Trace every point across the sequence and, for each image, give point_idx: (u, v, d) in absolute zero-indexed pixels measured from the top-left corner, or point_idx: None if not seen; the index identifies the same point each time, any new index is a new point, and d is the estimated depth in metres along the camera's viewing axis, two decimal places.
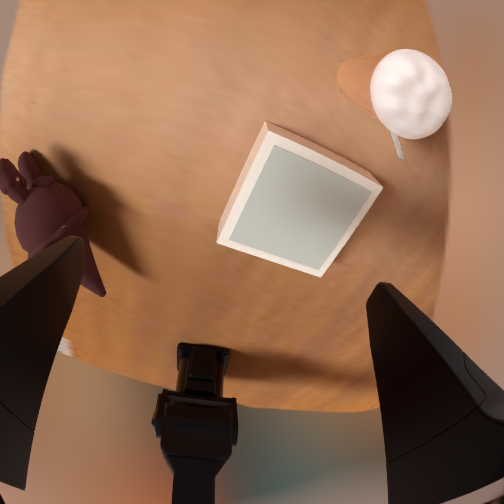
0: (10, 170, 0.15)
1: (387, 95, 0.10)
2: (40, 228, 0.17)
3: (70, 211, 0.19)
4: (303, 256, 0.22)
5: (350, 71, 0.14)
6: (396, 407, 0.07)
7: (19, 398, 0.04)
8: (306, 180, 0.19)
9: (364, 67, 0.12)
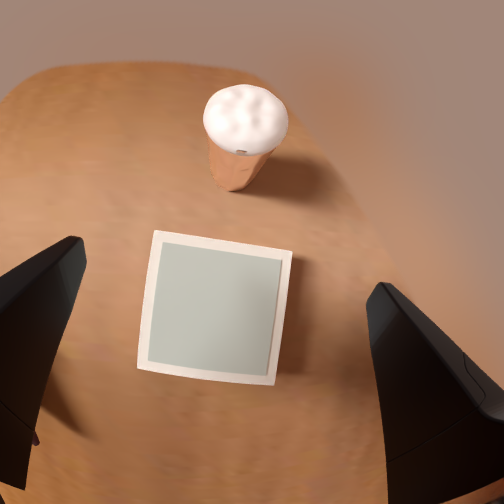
0: None
1: (216, 120, 0.14)
2: None
3: None
4: (239, 362, 0.18)
5: None
6: (396, 407, 0.07)
7: (19, 398, 0.04)
8: (205, 269, 0.18)
9: None
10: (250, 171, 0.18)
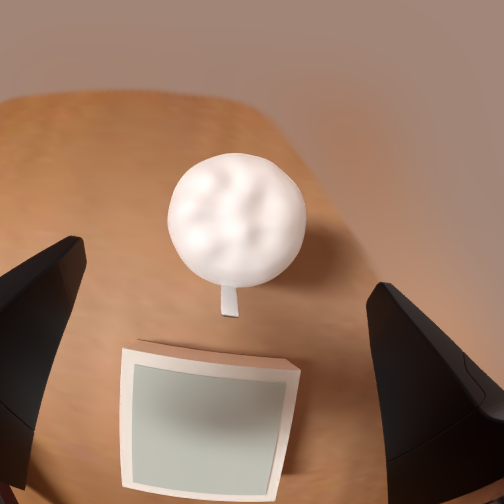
0: None
1: (186, 233, 0.09)
2: None
3: None
4: (235, 486, 0.12)
5: None
6: (396, 407, 0.07)
7: (19, 398, 0.04)
8: (190, 398, 0.13)
9: None
10: None
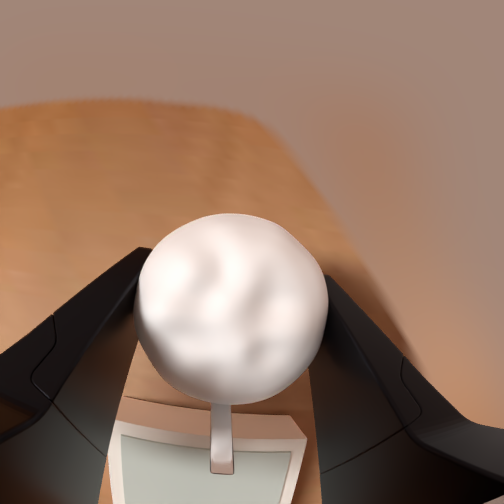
0: None
1: (159, 347, 0.06)
2: None
3: None
4: None
5: None
6: (326, 414, 0.06)
7: (99, 427, 0.05)
8: (185, 469, 0.10)
9: None
10: None
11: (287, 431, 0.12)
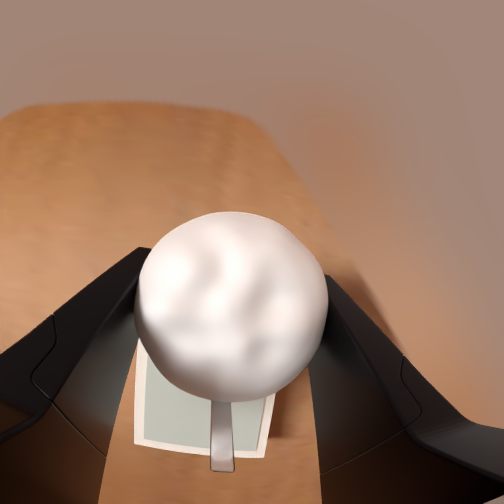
0: None
1: (159, 345, 0.06)
2: None
3: None
4: None
5: None
6: (326, 414, 0.06)
7: (99, 427, 0.05)
8: None
9: None
10: None
11: None
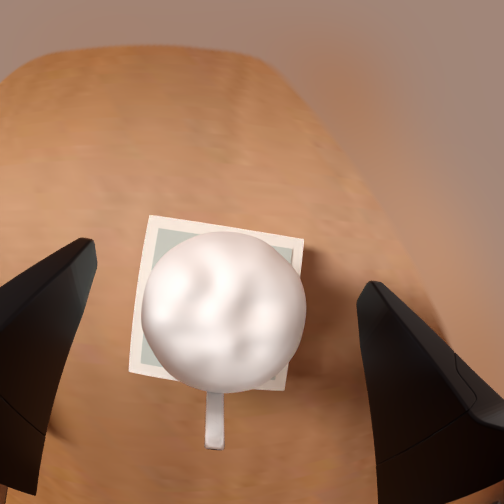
0: None
1: (163, 344, 0.07)
2: None
3: None
4: None
5: None
6: (386, 409, 0.06)
7: (31, 403, 0.04)
8: None
9: None
10: None
11: None
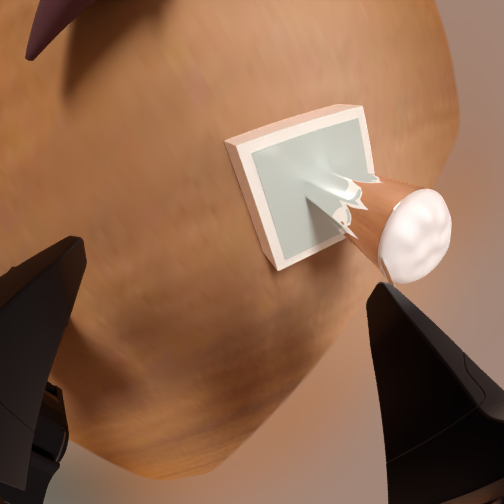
0: None
1: (413, 223, 0.10)
2: None
3: None
4: (288, 232, 0.19)
5: (351, 176, 0.14)
6: (396, 407, 0.07)
7: (19, 398, 0.04)
8: (351, 164, 0.18)
9: (387, 183, 0.12)
10: (349, 240, 0.15)
11: None
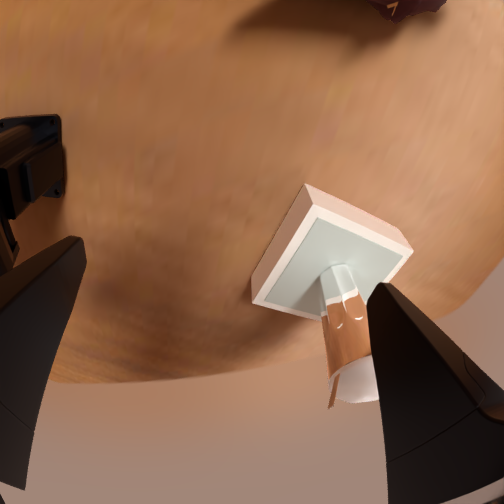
0: None
1: None
2: None
3: (414, 11, 0.09)
4: (285, 287, 0.21)
5: (364, 298, 0.17)
6: (396, 407, 0.07)
7: (19, 398, 0.04)
8: (367, 280, 0.21)
9: None
10: (324, 336, 0.17)
11: None
